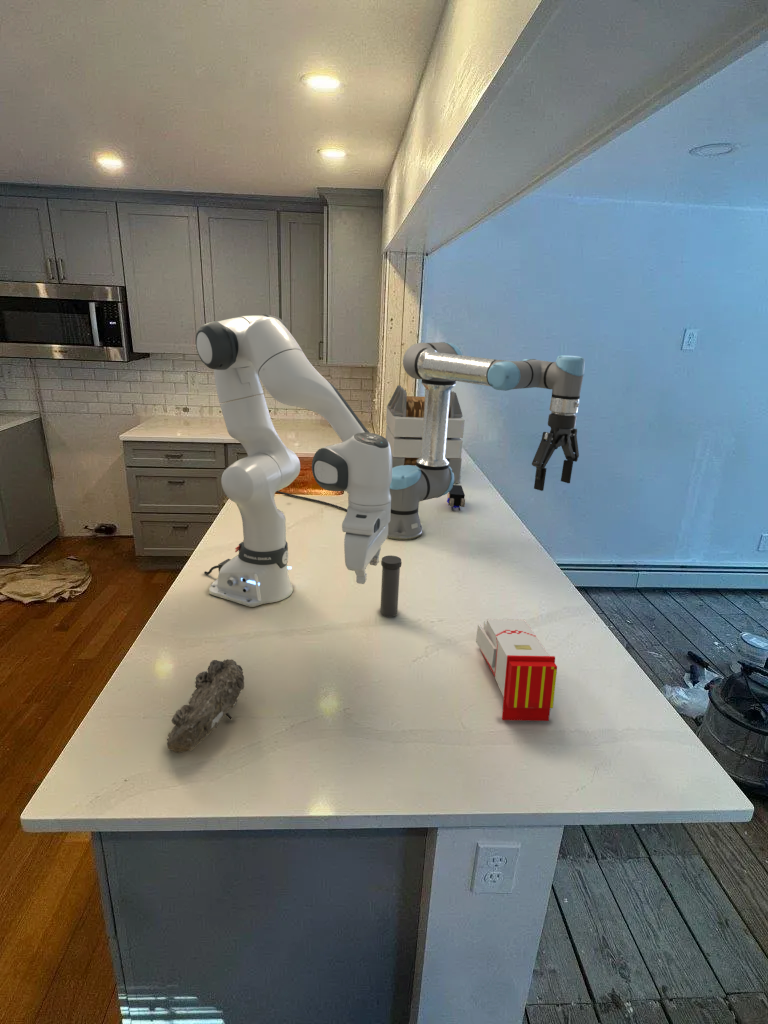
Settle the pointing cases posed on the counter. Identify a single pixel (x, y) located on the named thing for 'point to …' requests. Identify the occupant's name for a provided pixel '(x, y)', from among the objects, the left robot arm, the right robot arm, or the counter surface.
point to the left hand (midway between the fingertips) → (367, 572)
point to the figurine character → (456, 497)
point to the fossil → (206, 705)
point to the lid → (391, 562)
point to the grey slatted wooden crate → (420, 430)
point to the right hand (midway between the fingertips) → (552, 485)
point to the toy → (519, 668)
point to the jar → (389, 592)
